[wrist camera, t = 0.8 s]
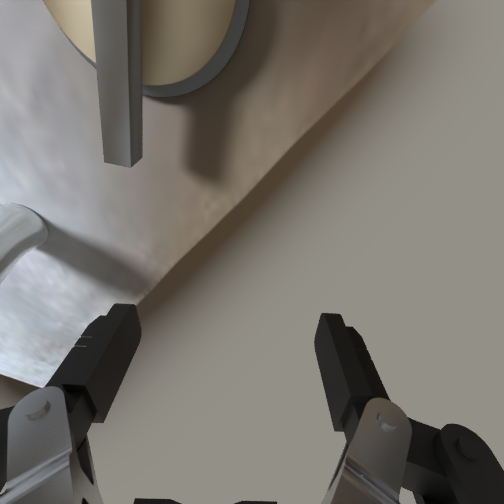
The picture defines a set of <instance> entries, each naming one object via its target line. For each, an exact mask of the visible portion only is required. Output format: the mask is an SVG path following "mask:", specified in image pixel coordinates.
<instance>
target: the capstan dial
mask: <svg viewBox="0 0 504 504" xmlns="http://www.w3.org/2000/svg"><path fill="white" fill-rule="evenodd" d="M43 2H44V4H45V5H46V7H47V8H48V10H49V12H50V13H51V15H52V17H53V18H54V20H55V21H56V22H57V24H58V25H59V26H60V28H61V29H62V30H63V32H64V33H65V34H66V35H67V37H68V38H69V39H70V40H71V41H72V42H73V43H74V45H75V46H76V47H77V48H79V49H80V50H81V51H82V52H83V53H84V54H85V55H86V56H87V57H88V58H90V59H91V60H92V61H93V62H95V63H96V68H97V80H98V92H99V104H100V116H101V128H102V140H103V152H104V162H106V163H111V164H115V165H120V166H125V167H129V168H131V167H132V166H133V165H134V164H136V163H137V162H138V161H139V160H140V159H141V158H142V84H143V85H166V84H172V83H176V82H179V81H183V80H185V79H187V78H189V77H192V76H193V75H195V74H196V73H198V72H199V71H201V70H202V69H203V68H204V67H205V66H206V65H207V64H208V63H209V62H210V61H211V60H212V59H213V58H214V56H215V55H216V54H217V52H218V51H219V49H220V47H221V46H222V44H223V42H224V40H225V38H226V36H227V33H228V31H229V28H230V25H231V22H232V19H233V15H234V10H235V5H236V0H43Z"/></svg>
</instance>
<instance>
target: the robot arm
mask: <svg viewBox="0 0 504 504" xmlns="http://www.w3.org/2000/svg"><path fill="white" fill-rule="evenodd" d="M140 339H141V326H140V321H139V317H138V313H137V309H136V306H135V305H134V304H117V303H116V304H114V305H113V306H112V308H111V309H110V311H109V312H108V314H107V315H106V316H101V315H100V316H99V317H98V318H97V319H95V320H94V321H93V322H92V323H90V324H89V325H88V326H87V328H86V329H85V331H84V332H83V334H82V335H81V338H79V339H78V341H77V342H76V344H75V346H74V347H73V348H72V349H71V351H70V352H69V353H68V355H67V356H66V358H65V359H64V361H63V362H62V363H61V365H60V366H59V368H58V369H57V371H56V372H55V373H54V375H53V376H52V378H51V379H50V380H49V382H48V383H47V384H46V386H45V387H44V388H40V389H38V390H35V391H33V392H32V393H30V394H28V395H27V396H26V397H24V398H23V399H22V400H21V401H20V402H19V403H18V404H17V405H15V406H12V407H9V408H5V409H1V410H0V492H1V490H2V488H3V487H4V485H5V483H6V482H7V486H6V490H5V492H4V493H3V494H1V495H0V504H103V501H102V498H101V495H100V493H99V489H98V485H97V480H96V476H95V470H94V465H93V461H92V455H91V450H90V445H89V441H88V436H87V432H88V430H89V428H90V426H91V423H104V421H105V418H106V416H107V414H108V412H109V409H110V407H111V405H112V403H113V401H114V398H115V396H116V394H117V392H118V390H119V387H120V385H121V383H122V381H123V378H124V376H125V374H126V372H127V370H128V367H129V365H130V363H131V361H132V358H133V356H134V354H135V352H136V350H137V347H138V345H139V342H140ZM314 344H315V352H316V356H317V361H318V365H319V369H320V373H321V377H322V381H323V386H324V390H325V393H326V398H327V402H328V406H329V411H330V414H331V419H332V423H333V427H334V431H340V432H341V431H342V432H344V433H345V437H346V441H347V442H346V444H345V447H344V449H343V452H342V454H341V457H340V459H339V462H338V465H337V467H336V470H335V472H334V474H333V477H332V479H331V482H330V484H329V487H328V489H327V492H326V494H325V497H324V499H323V501H322V503H321V504H400V503H399V494H400V489H401V487H403V488H405V489H407V490H410V491H412V492H413V495H414V498H415V500H416V503H417V504H504V470H503V469H502V467H501V466H500V464H499V462H498V461H497V459H496V457H495V456H494V454H493V453H492V451H491V450H490V448H489V447H488V445H487V444H486V443H485V442H484V441H483V440H482V439H481V438H480V437H479V436H478V435H477V434H475V433H474V432H473V431H471V430H469V429H468V428H466V427H464V426H461V425H458V424H447V425H445V426H444V427H443V428H442V429H441V430H440V429H437V428H434V427H431V426H429V425H426V424H423V423H420V422H417V421H415V420H413V419H411V418H409V417H407V415H406V414H405V413H404V412H403V410H402V409H401V408H400V407H398V406H397V405H396V404H394V403H393V402H391V400H390V399H389V397H388V395H387V393H386V390H385V388H384V386H383V384H382V381H381V380H380V377H379V375H378V372H377V370H376V368H375V366H374V363H373V361H372V360H371V357H370V354H369V352H368V350H367V348H366V345H365V343H364V341H363V338H362V337H361V335H360V334H359V333H358V332H357V331H356V330H355V329H354V328H353V327H347V326H345V324H344V321H343V318H342V316H341V315H340V314H333V313H322V314H321V316H320V320H319V324H318V327H317V331H316V335H315V341H314ZM134 504H181V503H178V502H176V501H174V500H171V499H140V498H135V501H134ZM235 504H277V502H266V501H265V502H264V501H241V502H238V503H235Z"/></svg>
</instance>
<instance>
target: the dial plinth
mask: <svg viewBox="0 0 504 504" xmlns="http://www.w3.org/2000/svg"><path fill="white" fill-rule="evenodd" d="M249 1H250V0H236V5H235V10H234V15H233V19H232V22H231V25H230V28H229V31H228V33H227V36H226V38H225V40H224V42H223V44H222V46H221V47H220V49H219V51H218V52H217V54H216V55H215V56H214V58H213V59H212V60H211V61H210V62H209V63H208V64H207V65H206V66H205V67H204V68H203V69H202V70H201V71H199V72H198V73H196V74H195V75H193V76H192V77H189V78H187V79H185V80H183V81H179V82H176V83H172V84H166V85H143V84H142V94H143V95H149V96H154V97H172V96H179V95H183V94H186V93H190V92H192V91H194V90H196V89H198V88H200V87H202V86H204V85H205V84H207V83H208V82H210V81H211V80H212V79H213V78H214V77H216V76H217V75H218V74H219V73H220V72H221V70H222V69H223V68H224V67H225V66H226V64H227V63H228V61H229V60H230V58H231V57H232V55H233V54H234V52H235V50H236V47H237V45H238V43H239V41H240V39H241V36H242V33H243V30H244V27H245V23H246V18H247V14H248V9H249ZM59 27H60V26H59ZM60 29H61V28H60ZM61 30H62V29H61ZM62 31H63V30H62ZM63 33H64V32H63ZM64 34H65V33H64ZM65 35H66V34H65ZM66 37H67V35H66ZM67 38H68V37H67ZM68 40H69V41H70V42H71V44H72V45H73V46H74V47H75V48H76V49H77V51H78V52H79V53H80V54H81V55H82V56H83V57H84V58H85V59H86V60H87V61H88V62H89V63H90V64H91V65H92V66H93V67H94V68H95V69H97V68H96V63H95V62H93V61H92V60H91V59H90V58H88V57H87V56H86V55H85V54H84V53H83V52H82V51H81V50H80V49H79V48H77V47H76V46H75V45H74V43H73V42H72V41H71V40H70V39H69V38H68Z"/></svg>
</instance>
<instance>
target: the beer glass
mask: <svg viewBox="0 0 504 504" xmlns="http://www.w3.org/2000/svg"><path fill="white" fill-rule="evenodd" d="M47 238H48V229H47V226H46V224H45V223H44V221H43V220H42V219H41V218H40V217H39V216H38V215H37V214H36V213H35V212H33V211H32V210H30V209H28V208H26V207H24V206H21V205H18V204H13V203H5V204H1V205H0V284H1V283H2V282H3V280H4V279H5V278H6V276H7V275H8V274H9V272H10V271H11V270H12V268H13V267H14V266H15V264H16V263H17V262H18V261H19V260H20V259H21V258H22V257H23V256H24V255H25V254H26V253H28V252H29V251H31V250H33V249H35V248H37V247H39V246H40V245H42V244H43V243H44V242H45V241H46V240H47Z"/></svg>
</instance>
